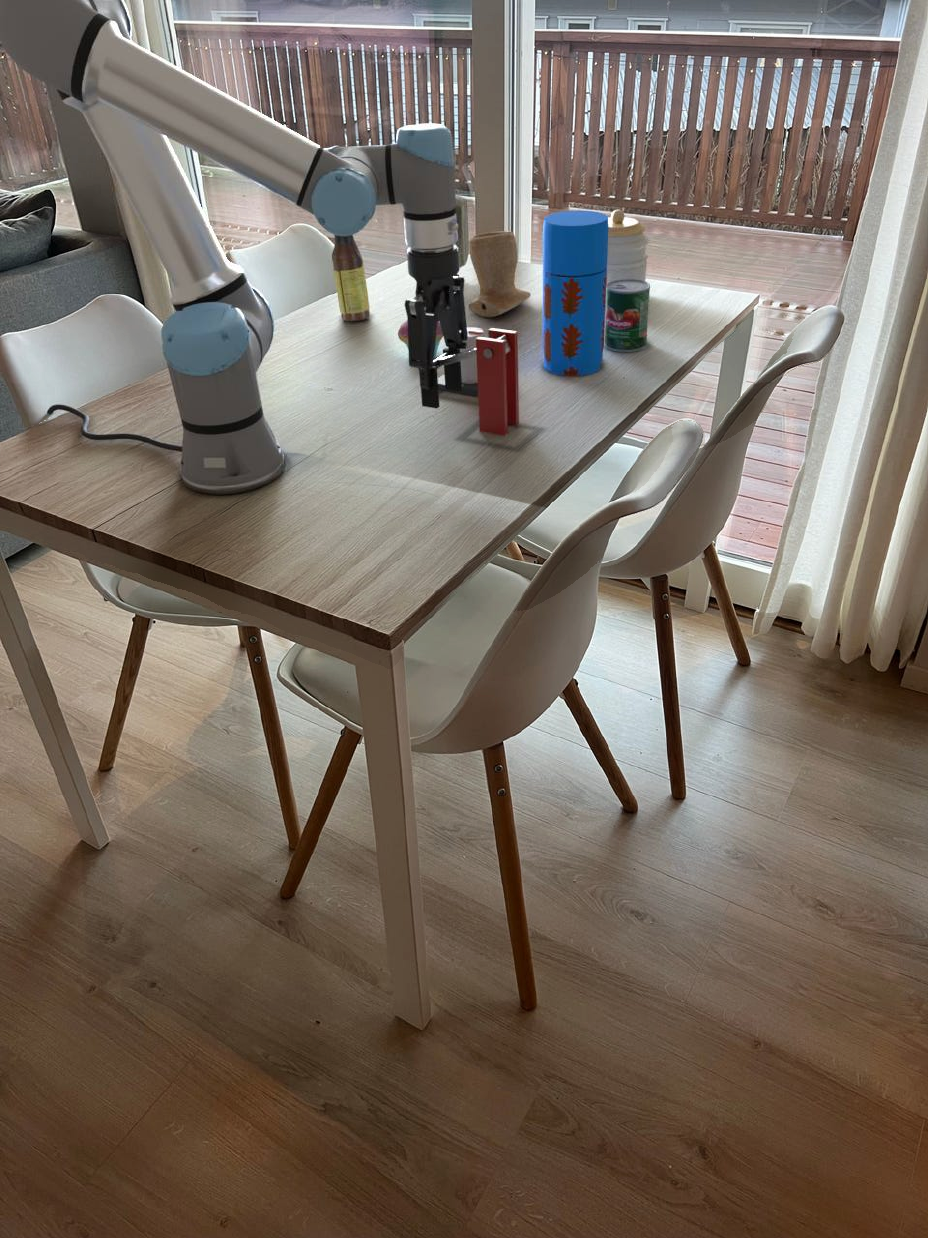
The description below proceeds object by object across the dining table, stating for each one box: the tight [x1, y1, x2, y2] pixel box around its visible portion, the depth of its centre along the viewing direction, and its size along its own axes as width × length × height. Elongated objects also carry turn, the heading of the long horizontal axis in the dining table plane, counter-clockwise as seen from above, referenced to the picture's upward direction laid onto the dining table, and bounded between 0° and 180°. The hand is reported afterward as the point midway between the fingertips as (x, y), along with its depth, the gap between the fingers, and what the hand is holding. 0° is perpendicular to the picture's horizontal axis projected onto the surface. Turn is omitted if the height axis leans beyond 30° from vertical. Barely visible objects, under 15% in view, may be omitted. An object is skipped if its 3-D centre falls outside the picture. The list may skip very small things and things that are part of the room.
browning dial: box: [459, 326, 485, 384], centre depth 155 cm, size 5×5×8 cm
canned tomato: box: [604, 279, 651, 353], centre depth 171 cm, size 8×8×11 cm
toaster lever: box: [433, 335, 511, 370], centre depth 140 cm, size 13×6×2 cm, turn 61°
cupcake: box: [397, 312, 444, 358], centre depth 171 cm, size 9×8×12 cm
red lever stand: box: [476, 327, 520, 437], centre depth 141 cm, size 10×8×16 cm
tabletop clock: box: [455, 194, 470, 277], centre depth 205 cm, size 14×9×25 cm, turn 174°
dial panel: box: [438, 373, 478, 398], centre depth 159 cm, size 11×9×3 cm
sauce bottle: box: [331, 234, 371, 322], centre depth 189 cm, size 7×6×20 cm
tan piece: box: [467, 230, 532, 318], centre depth 191 cm, size 15×12×15 cm
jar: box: [606, 209, 650, 285], centre depth 191 cm, size 13×13×18 cm
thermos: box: [542, 210, 609, 377], centre depth 160 cm, size 11×11×25 cm
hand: (442, 397), depth 147 cm, fingers open, 7 cm apart
